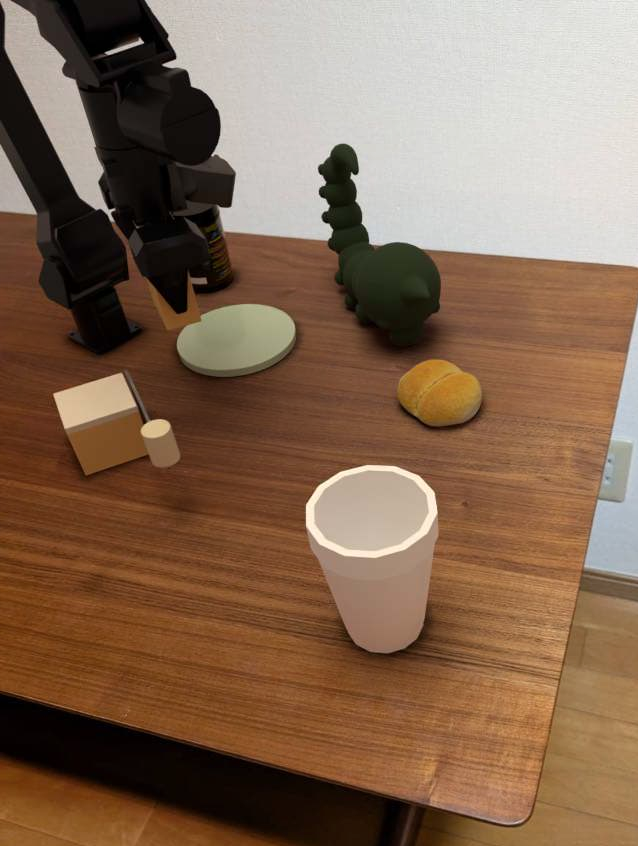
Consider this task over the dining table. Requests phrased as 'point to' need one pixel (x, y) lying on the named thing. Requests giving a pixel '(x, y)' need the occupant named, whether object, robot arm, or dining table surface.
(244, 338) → the plate
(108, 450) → the cake
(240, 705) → the dining table surface
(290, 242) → the dining table surface
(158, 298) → the cake slice
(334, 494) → the foam cup
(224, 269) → the supplement container
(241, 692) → the dining table surface
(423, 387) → the bread roll
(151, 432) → the knife
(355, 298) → the toy figurine
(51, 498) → the dining table surface
